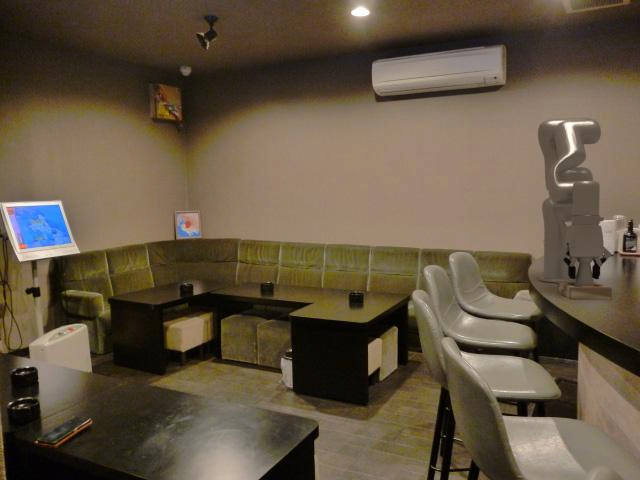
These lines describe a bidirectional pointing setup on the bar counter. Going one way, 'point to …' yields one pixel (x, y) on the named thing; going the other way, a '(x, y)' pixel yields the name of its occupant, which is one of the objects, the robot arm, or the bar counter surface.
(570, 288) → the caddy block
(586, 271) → the salt shaker
